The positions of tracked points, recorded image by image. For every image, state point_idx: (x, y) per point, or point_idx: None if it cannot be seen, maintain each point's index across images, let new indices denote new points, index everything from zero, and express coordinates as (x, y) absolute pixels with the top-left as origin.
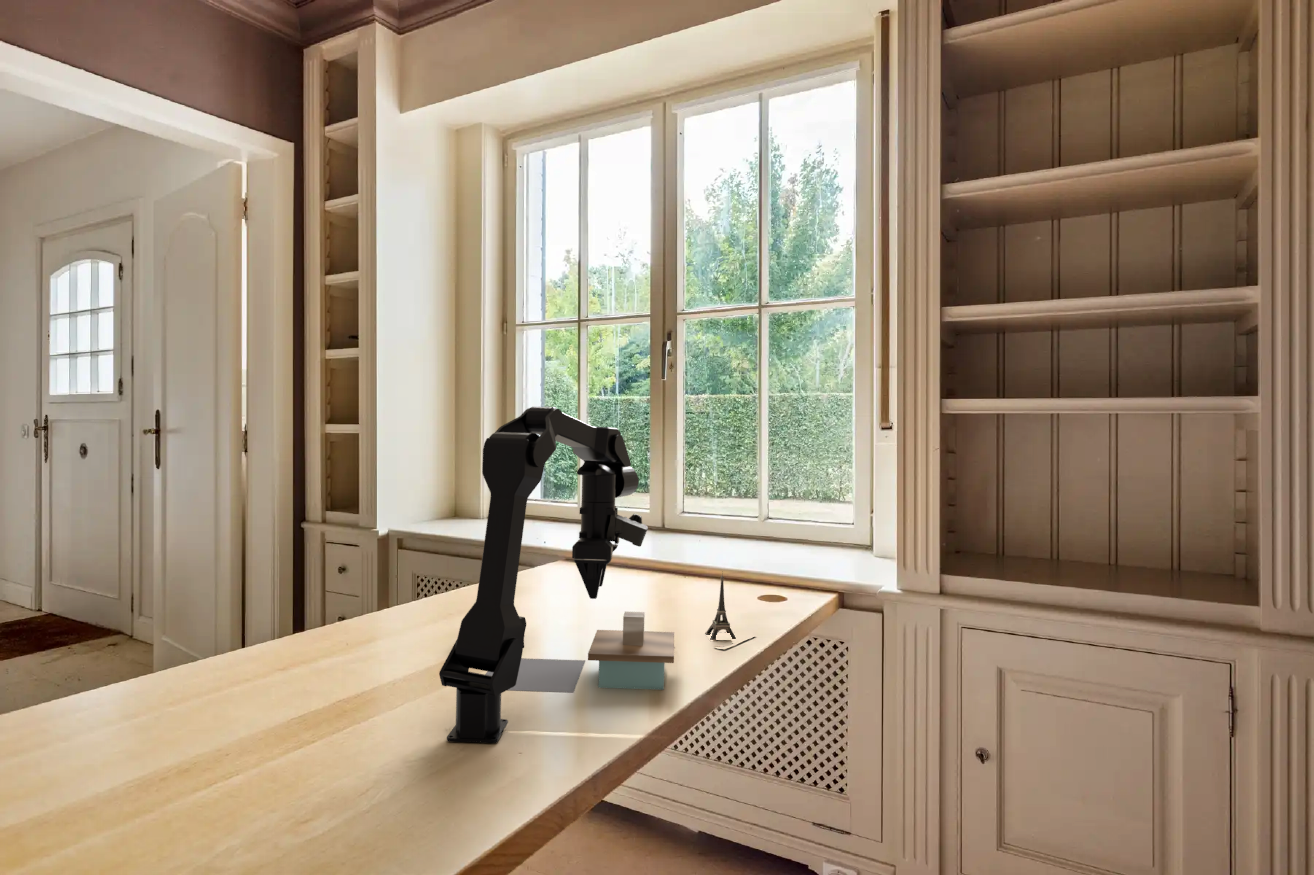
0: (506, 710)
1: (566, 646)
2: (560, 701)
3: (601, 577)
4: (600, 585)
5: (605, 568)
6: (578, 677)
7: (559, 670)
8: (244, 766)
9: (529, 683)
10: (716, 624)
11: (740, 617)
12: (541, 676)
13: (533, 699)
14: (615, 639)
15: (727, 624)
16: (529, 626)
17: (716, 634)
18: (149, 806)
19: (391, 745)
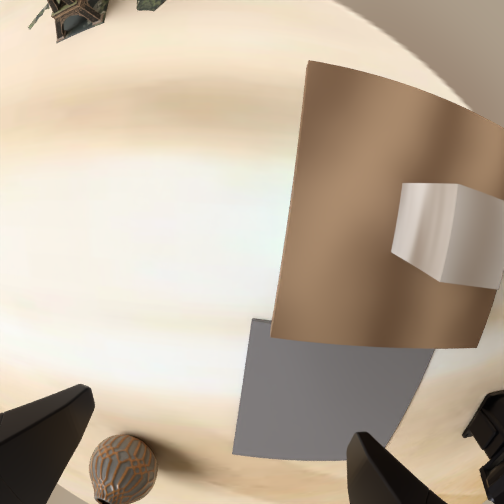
0: (452, 407)
1: (134, 348)
2: (452, 350)
3: (68, 414)
4: (89, 393)
5: (29, 427)
6: None
7: (319, 371)
8: (454, 499)
9: (379, 407)
10: (76, 3)
11: (8, 15)
12: (348, 396)
13: (431, 388)
14: (391, 281)
15: None
16: (47, 386)
17: (93, 9)
18: (474, 498)
19: (473, 457)
